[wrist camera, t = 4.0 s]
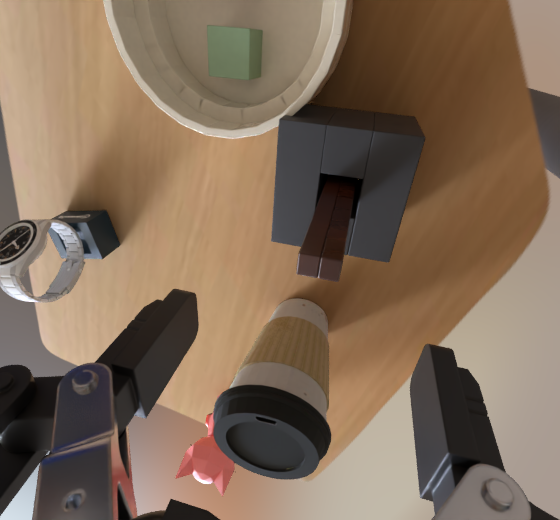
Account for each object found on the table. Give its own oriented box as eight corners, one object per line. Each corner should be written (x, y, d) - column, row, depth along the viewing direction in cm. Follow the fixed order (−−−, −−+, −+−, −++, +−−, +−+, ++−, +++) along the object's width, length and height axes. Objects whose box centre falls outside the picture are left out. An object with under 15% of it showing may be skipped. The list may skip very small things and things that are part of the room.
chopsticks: (359, 160, 28) (343, 261, 15) (356, 174, 29) (338, 283, 16) (335, 157, 29) (298, 252, 15) (333, 171, 29) (295, 274, 16)
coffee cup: (258, 341, 42) (208, 463, 30) (260, 277, 37) (200, 392, 25) (337, 359, 41) (320, 496, 28) (351, 294, 35) (337, 427, 23)
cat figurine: (209, 405, 52) (170, 489, 42) (213, 377, 48) (171, 463, 38) (253, 421, 51) (223, 510, 42) (261, 394, 48) (230, 485, 38)
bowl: (375, -144, 19) (374, -202, 15) (334, 134, 28) (325, 151, 23) (134, -143, 22) (70, -192, 17) (162, 112, 30) (123, 124, 26)
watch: (99, 193, 36) (6, 242, 27) (125, 258, 40) (52, 319, 31) (57, 194, 38) (-44, 241, 29) (86, 257, 42) (6, 316, 33)
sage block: (262, 30, 25) (249, 28, 22) (261, 77, 26) (249, 80, 24) (223, 26, 25) (206, 24, 23) (224, 73, 27) (208, 76, 24)
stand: (415, 116, 26) (426, 137, 20) (387, 222, 30) (389, 263, 25) (300, 103, 27) (279, 118, 21) (290, 206, 32) (271, 241, 26)
